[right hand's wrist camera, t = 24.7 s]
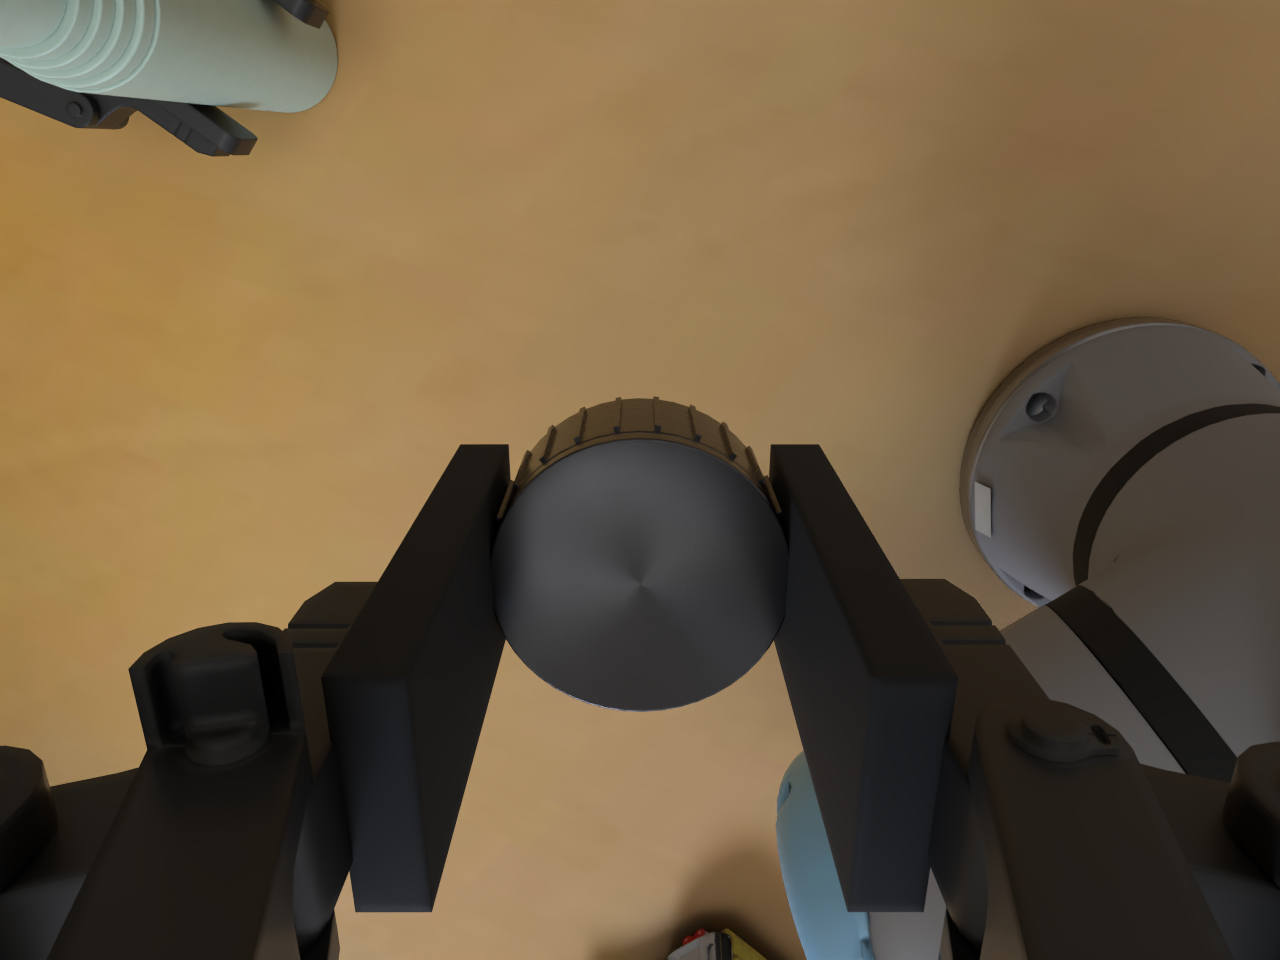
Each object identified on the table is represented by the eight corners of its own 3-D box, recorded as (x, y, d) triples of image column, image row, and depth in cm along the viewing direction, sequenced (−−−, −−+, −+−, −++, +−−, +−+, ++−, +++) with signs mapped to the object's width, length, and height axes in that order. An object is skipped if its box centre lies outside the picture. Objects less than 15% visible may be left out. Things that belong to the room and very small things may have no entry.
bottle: (349, 105, 39) (63, 64, 20) (243, 119, 39) (-144, 92, 20) (323, -17, 37) (-17, -194, 18) (212, -3, 37) (-243, -162, 18)
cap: (831, 521, 14) (861, 579, 12) (643, 688, 15) (644, 765, 13) (635, 336, 13) (636, 368, 11) (449, 529, 14) (420, 588, 12)
